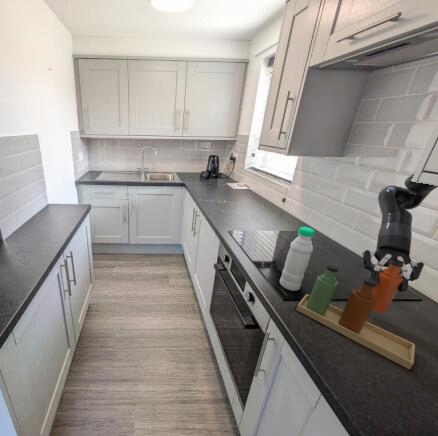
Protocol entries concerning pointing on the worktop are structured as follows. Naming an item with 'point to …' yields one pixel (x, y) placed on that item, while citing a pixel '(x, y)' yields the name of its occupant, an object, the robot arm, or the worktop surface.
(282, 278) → the water bottle
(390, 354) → the tray
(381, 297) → the terracotta bottle
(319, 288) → the sage bottle
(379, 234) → the robot arm
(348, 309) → the amber bottle
